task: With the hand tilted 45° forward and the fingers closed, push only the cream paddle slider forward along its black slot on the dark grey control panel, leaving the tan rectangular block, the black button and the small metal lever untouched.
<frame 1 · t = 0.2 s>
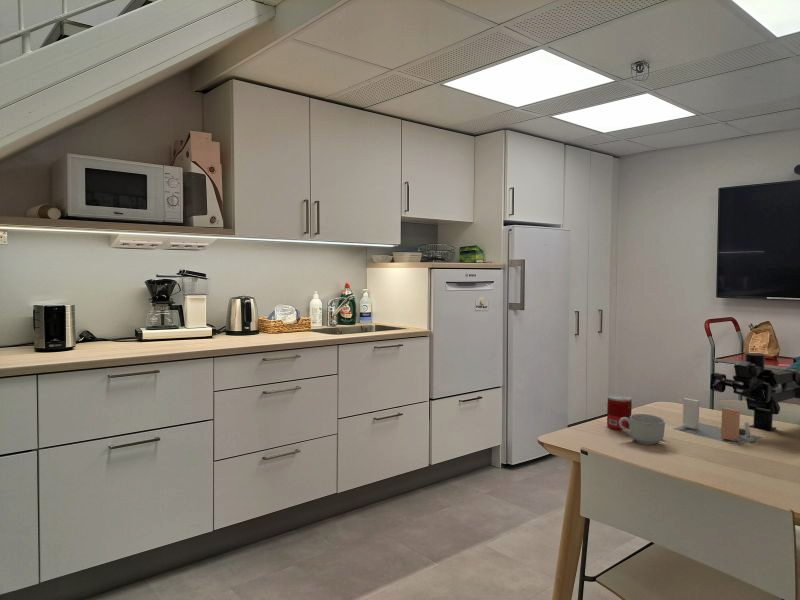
hand: (726, 390, 188), 16 cm above the table, tool horizontal, fingers open, 9 cm apart
canned food: (618, 428, 202), on the table
panel: (716, 435, 193), on the table
cream paddle: (690, 413, 198), point 6 cm above the table, slide at 0.0 cm
teacup: (641, 441, 185), on the table
tan rectangular block: (730, 423, 185), point 6 cm above the table, slide at 0.0 cm
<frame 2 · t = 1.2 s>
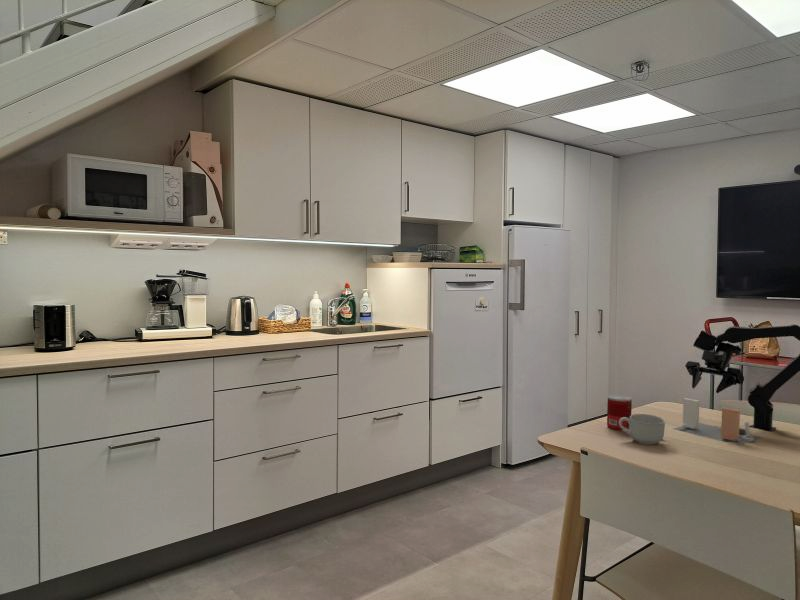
hand: (704, 390, 202), 14 cm above the table, tool tilted 45°, fingers open, 8 cm apart
nothing on the table moved.
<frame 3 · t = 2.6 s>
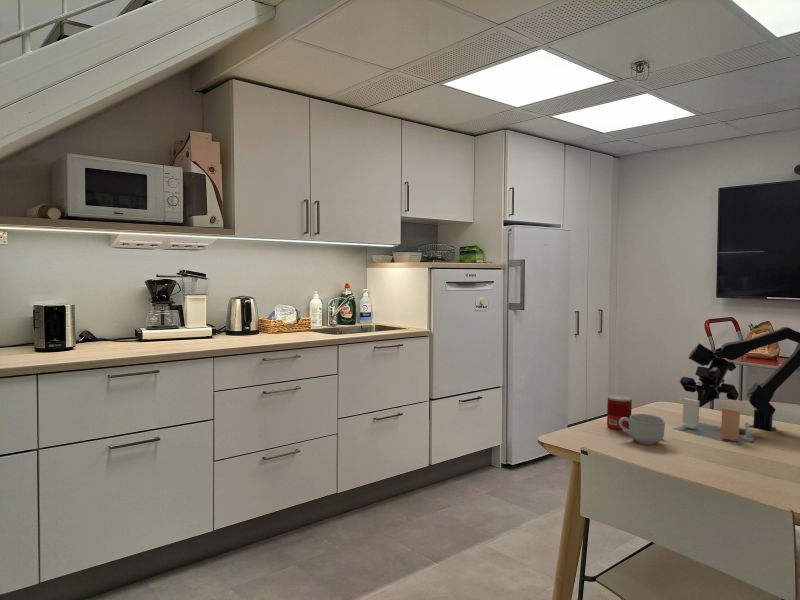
hand: (698, 406, 201), 8 cm above the table, tool tilted 45°, fingers closed
nothing on the table moved.
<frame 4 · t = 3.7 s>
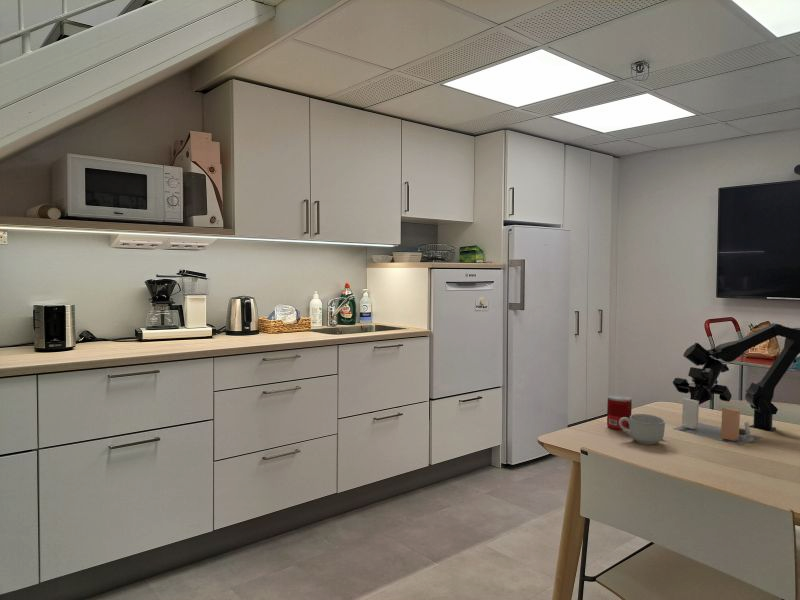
hand: (691, 407, 198), 8 cm above the table, tool tilted 45°, fingers closed, pressing on cream paddle
cream paddle: (690, 413, 198), point 6 cm above the table, slide at 0.4 cm, touching gripper
everything else where it was.
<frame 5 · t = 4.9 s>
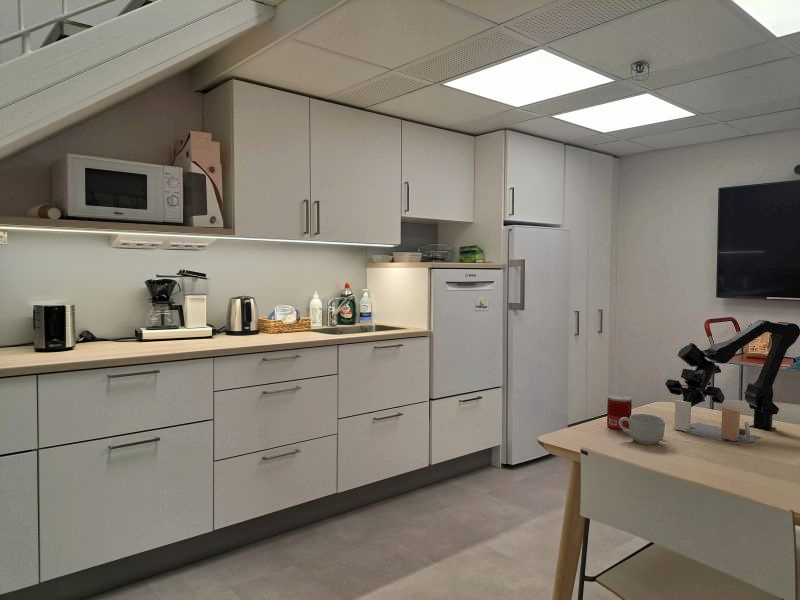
hand: (684, 409, 195), 8 cm above the table, tool tilted 45°, fingers closed, pressing on cream paddle
cream paddle: (682, 415, 195), point 6 cm above the table, slide at 5.3 cm, touching gripper
everything else where it was.
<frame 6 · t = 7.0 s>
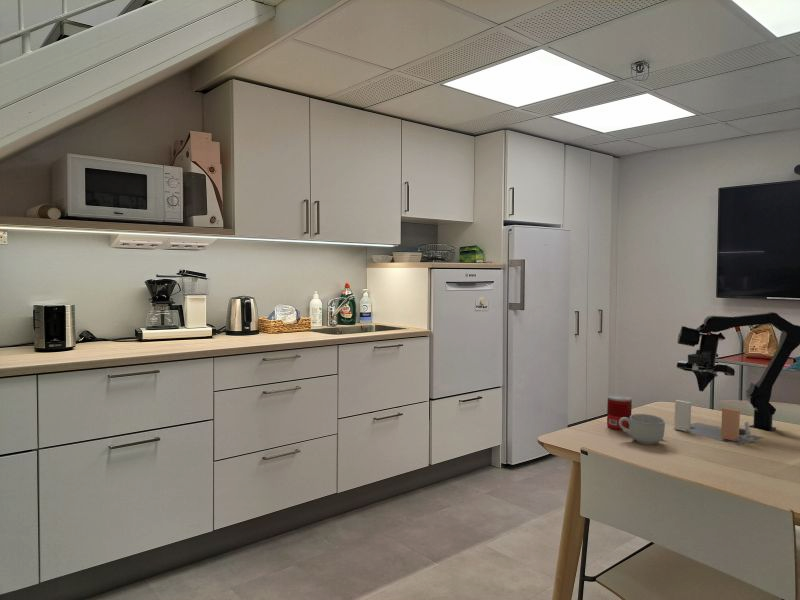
hand: (701, 391, 205), 13 cm above the table, tool tilted 20°, fingers closed
cream paddle: (682, 415, 195), point 6 cm above the table, slide at 5.3 cm
everything else where it was.
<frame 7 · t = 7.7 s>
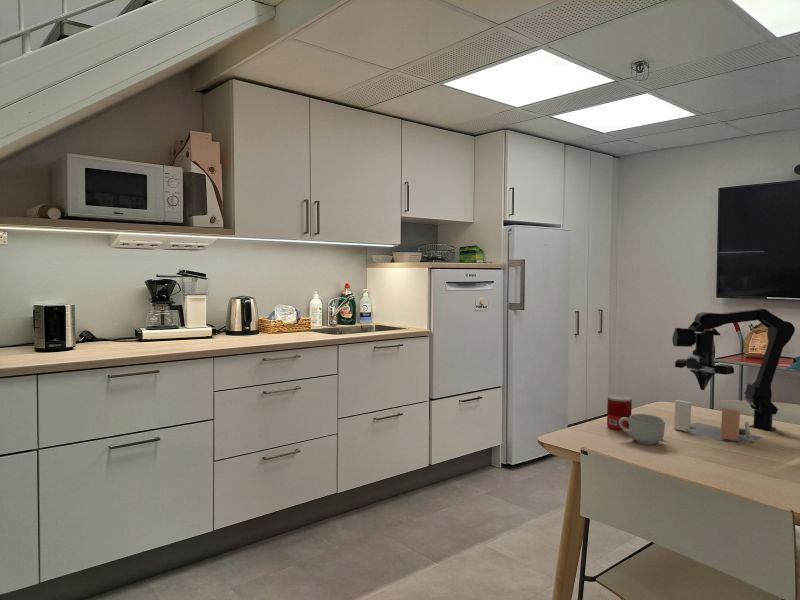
hand: (702, 390, 205), 13 cm above the table, tool pointing down, fingers closed
nothing on the table moved.
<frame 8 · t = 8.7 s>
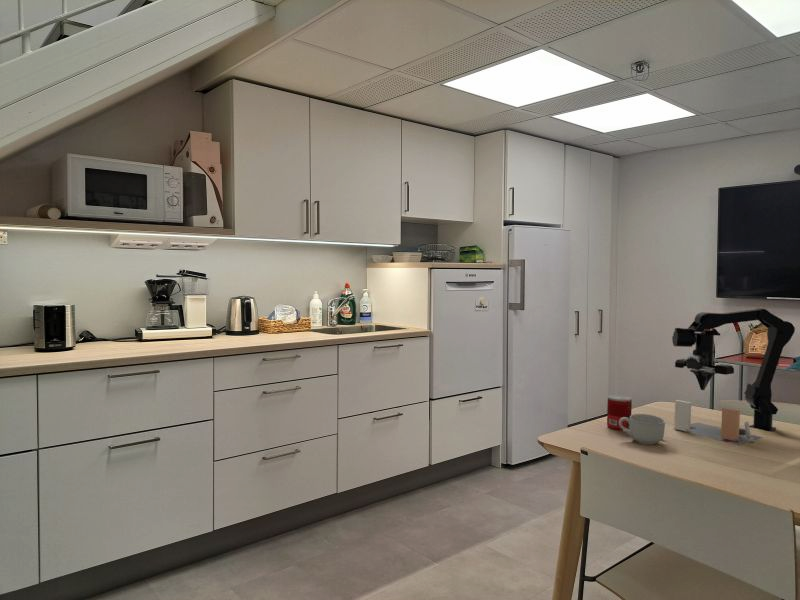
hand: (702, 390, 205), 13 cm above the table, tool pointing down, fingers closed
nothing on the table moved.
at the end: cream paddle slide at 5.3 cm; tan rectangular block slide at 0.0 cm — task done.
